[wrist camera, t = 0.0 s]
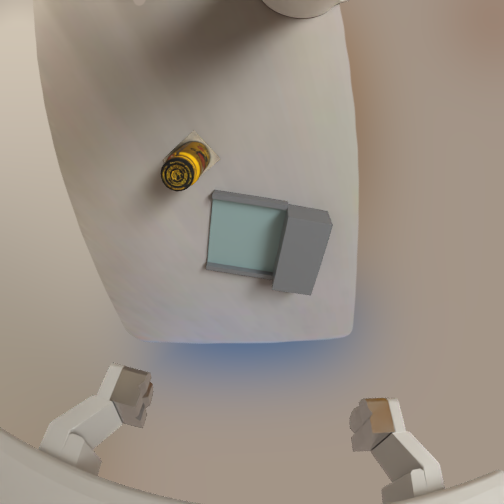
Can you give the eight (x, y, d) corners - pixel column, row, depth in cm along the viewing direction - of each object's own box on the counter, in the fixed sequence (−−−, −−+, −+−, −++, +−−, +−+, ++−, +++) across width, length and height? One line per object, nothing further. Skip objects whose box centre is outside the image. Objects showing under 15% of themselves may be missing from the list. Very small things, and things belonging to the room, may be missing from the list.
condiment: (220, 158, 54) (207, 178, 43) (188, 186, 57) (169, 211, 47) (194, 129, 51) (174, 142, 41) (162, 159, 54) (137, 179, 44)
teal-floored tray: (214, 189, 57) (208, 201, 52) (328, 209, 57) (333, 222, 52) (207, 264, 66) (202, 280, 61) (307, 279, 66) (310, 297, 61)
